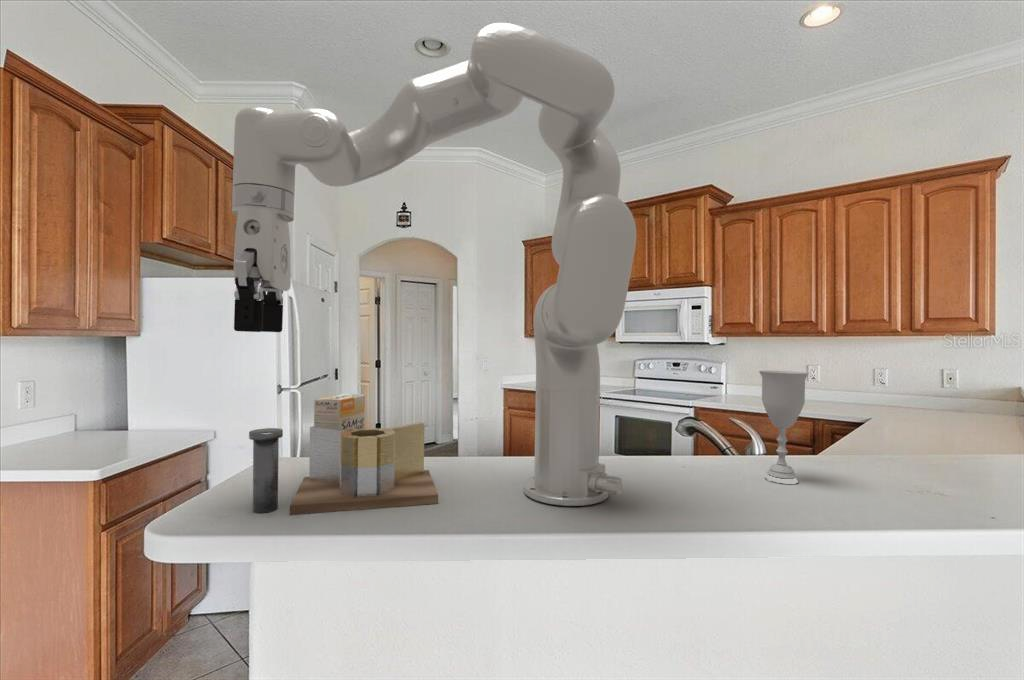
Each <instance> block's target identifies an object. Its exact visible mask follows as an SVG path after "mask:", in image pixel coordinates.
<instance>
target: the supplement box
mask: <svg viewBox="0 0 1024 680" xmlns="http://www.w3.org/2000/svg"><path fill="white" fill-rule="evenodd" d="M365 399H366V395H365V394H359V393H358V394H355V393H354V394H353V393H341V394H336V395H330V396H326V397H321V398H320V397H319V398H315V399H314V403H313V404H314V405H313V407H314V408H313V410H314V411H313V412H314V413H313V426H321V427H329V428H337V429H346V430H354V429H362V428H365V403H366V401H365Z"/></svg>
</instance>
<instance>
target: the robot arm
mask: <svg viewBox="0 0 1024 680" xmlns="http://www.w3.org/2000/svg"><path fill="white" fill-rule="evenodd" d="M612 77H613V76H612V74H611V73H610V72H609V69H608V68H607V67H606V66H605V65H604V64H603V63H602V62H601V61H600V60H598V59H597V58H595V57H594V56H591V55H590V54H587V53H586V52H583V51H581V50H579V49H578V48H575V47H573V46H570V45H568V44H567V43H566V44H565V43H564V42H561V41H559V40H557V39H554V38H552V37H549V36H548V35H545V34H544V33H543V34H542V33H541V32H538V31H535V30H533V29H530V28H529V27H524V26H522V25H519V24H514V23H509V22H494V23H490V24H487V25H486V26H483V27H482V28H481V29H480V30H479V31H478V32H477V33H476V35H475V37H474V38H473V40H472V45H471V49H470V58H469V59H467V60H464V61H462V62H459V63H455V64H453V65H449V66H447V67H444V68H441V69H439V70H436V71H431V72H429V73H427V74H424V75H421V76H417V77H414V78H412V79H409V80H408V81H407V82H406V83H404V85H403V86H402V87H401V88H400V90H399V91H398V93H397V94H396V96H395V97H394V99H393V101H392V103H391V104H390V106H389V107H388V109H386V111H385V112H384V113H382V114H381V115H380V117H378V118H376V119H375V120H374V121H372V122H371V123H369V124H367V125H365V126H363V127H361V128H359V129H356V130H352V131H348V129H347V126H346V125H345V123H344V122H343V120H342V119H341V118H340V117H339V115H337V114H335V113H334V112H332V111H330V110H327V109H324V108H320V107H319V108H318V107H308V108H297V109H288V110H273V109H270V108H266V107H261V106H260V107H258V106H249V107H245V108H241V109H240V110H239V111H238V113H237V114H236V116H235V118H234V119H235V120H234V131H233V132H234V135H233V136H234V137H233V163H232V164H233V169H232V171H233V172H232V199H231V200H232V201H231V202H232V203H231V205H232V206H231V212H232V215H235V216H236V224H235V225H236V226H235V235H234V249H233V277H234V279H233V280H234V284H235V286H236V287H235V290H234V293H233V294H234V295H233V296H234V313H233V314H234V315H233V316H234V317H233V319H234V320H233V330H234V331H235V332H249V333H250V332H251V333H254V332H255V333H262V332H264V333H282V331H283V316H284V305H283V304H284V298H283V297H284V296H283V293H284V292H287V291H289V290H290V289H291V283H292V282H291V278H292V277H291V239H290V237H291V236H290V229H289V228H290V227H289V223H292V222H293V221H294V220H295V192H296V191H295V190H296V187H295V186H296V166H297V165H301V166H303V167H304V168H307V170H308V172H309V173H311V175H312V176H313V177H314V178H315V179H316V180H317V181H319V182H320V183H321V184H324V185H326V186H330V187H335V188H337V187H339V188H340V187H346V186H351V185H354V184H356V183H359V182H362V181H365V180H368V179H370V178H374V177H376V176H378V175H379V176H380V175H381V174H384V173H386V172H388V171H391V170H392V169H394V168H396V167H397V166H400V165H401V164H402V163H404V162H406V161H407V160H409V159H411V158H412V157H414V156H415V155H417V154H418V153H420V152H422V151H423V150H424V149H425V148H427V147H428V146H429V145H431V144H434V143H435V142H438V141H441V140H444V139H446V138H449V137H453V136H454V135H457V134H459V133H462V132H466V131H468V130H470V129H473V128H476V127H480V126H483V125H485V124H488V123H490V122H493V121H496V120H499V119H503V118H504V117H506V116H508V115H510V114H511V113H513V112H514V111H516V110H517V109H518V107H519V106H520V104H521V102H522V101H523V99H524V98H526V99H529V100H531V101H532V102H535V103H537V104H540V105H541V107H540V110H539V115H538V120H537V124H538V130H539V134H540V136H541V139H542V140H543V142H544V144H545V145H546V146H547V147H548V148H549V149H550V151H552V153H554V155H555V156H556V157H557V159H558V160H559V162H560V164H561V167H562V185H561V193H560V198H559V203H558V207H557V208H558V209H557V214H556V217H555V218H556V219H555V224H554V226H553V227H554V228H553V232H552V236H551V252H552V256H553V258H554V260H555V262H556V263H557V264H558V266H559V269H558V273H557V279H556V283H554V284H552V285H550V286H549V287H548V288H546V289H545V290H544V291H543V293H542V294H541V295H540V296H539V298H538V300H537V303H536V305H535V307H534V312H533V334H534V335H533V336H534V346H535V403H534V404H535V405H534V407H535V414H534V416H535V417H534V418H535V421H534V476H531V477H530V478H528V479H527V480H526V481H525V482H524V483H523V484H524V485H523V492H524V494H525V495H526V496H528V497H529V498H530V499H532V500H534V501H537V502H540V503H543V504H548V505H555V506H561V507H562V506H563V507H564V506H566V507H577V506H578V507H581V506H582V507H583V506H591V505H595V504H598V503H601V502H604V501H605V500H607V498H608V497H609V496H610V495H609V494H612V495H617V496H620V495H621V494H622V492H623V488H624V487H623V481H622V480H623V479H622V477H620V476H616V475H609V474H608V473H607V472H606V464H605V463H599V462H600V460H599V459H600V454H599V453H600V398H601V395H600V394H601V368H600V367H601V366H600V365H601V364H600V363H601V362H600V354H599V348H598V344H601V343H603V342H605V341H606V340H608V339H609V338H610V337H612V336H613V334H614V333H615V332H616V330H617V329H618V327H619V325H620V323H621V320H622V317H623V314H624V311H625V306H626V302H627V295H628V291H629V285H630V279H631V274H632V268H633V264H634V263H633V262H634V256H635V252H636V245H637V228H636V227H637V226H636V221H635V219H634V216H633V213H632V212H631V210H630V208H629V207H628V205H627V204H626V203H625V202H624V201H623V200H622V199H620V198H619V191H620V184H621V163H620V159H619V156H618V154H617V151H616V150H615V148H614V146H613V145H612V143H611V141H610V140H609V138H608V137H607V136H606V134H604V132H603V131H602V130H601V129H600V128H599V125H600V124H601V123H602V121H603V120H604V118H605V117H606V116H607V114H609V111H610V109H611V108H612V106H613V101H614V98H615V85H614V79H613V78H612Z"/></svg>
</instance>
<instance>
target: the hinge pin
mask: <svg viewBox="0 0 1024 680" xmlns="http://www.w3.org/2000/svg"><path fill="white" fill-rule="evenodd" d="M283 431H284V430H283V428H276V427H269V428H267V427H265V428H258V429H253V430H250V431H249V432H248V439H249V440H251V441H252V443H253V444H252V446H253V447H252V449H253V450H252V512H253V513H254V514H268V513H271V512H275V511H276V510H278V509H279V448H280V447H279V438H283V436H284V435H283V434H284V432H283Z"/></svg>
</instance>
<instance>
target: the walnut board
mask: <svg viewBox="0 0 1024 680" xmlns="http://www.w3.org/2000/svg"><path fill="white" fill-rule="evenodd" d="M438 503H439V494H438V492H437V488H436V485H435V483H434V480H433V478H432V475H431V473H430V469H424V473H421V474H418V475H415V476H411V477H408V478H405V479H402V480H398V481H395V482H394V490H393V491H391V492H388V493H385V494H383V495H376V496H372V497H358V498H357V496H356V497H350V496H346V495H342V494H341V493H340V485H337V484H331V483H326V482H320V481H315V480H309V476H304V477H303V479H302V480H301V483H300V485H299V487H298V488H297V491H296V492H295V495H294V496H293V499H292V501H291V503H290V504H289V515H290V516H292V515H302V514H303V515H305V514H315V513H316V514H317V513H329V512H343V511H345V512H346V511H356V510H370V509H384V508H395V507H398V508H399V507H407V506H408V507H409V506H410V507H411V506H419V505H420V506H423V505H434V504H438Z"/></svg>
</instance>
